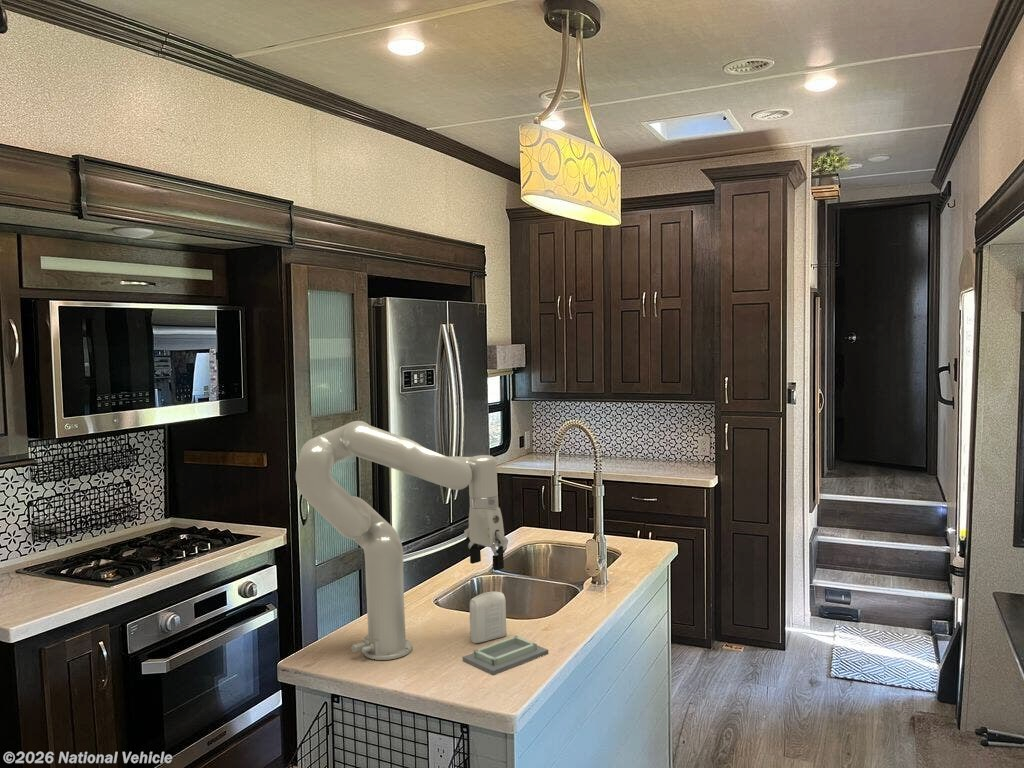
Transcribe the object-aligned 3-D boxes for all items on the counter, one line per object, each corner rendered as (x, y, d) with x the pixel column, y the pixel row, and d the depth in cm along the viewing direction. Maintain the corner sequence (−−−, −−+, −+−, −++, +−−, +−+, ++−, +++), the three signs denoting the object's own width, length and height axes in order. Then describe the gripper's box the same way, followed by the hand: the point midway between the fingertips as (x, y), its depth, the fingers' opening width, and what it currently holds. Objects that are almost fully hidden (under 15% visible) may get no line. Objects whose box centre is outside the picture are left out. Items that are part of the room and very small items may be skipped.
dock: (493, 675, 186) (492, 664, 186) (462, 660, 195) (462, 650, 195) (548, 653, 198) (548, 643, 197) (517, 641, 207) (516, 631, 207)
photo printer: (500, 631, 214) (499, 587, 213) (509, 636, 210) (507, 590, 210) (468, 640, 208) (466, 594, 208) (476, 645, 205) (474, 598, 204)
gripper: (516, 504, 203) (518, 569, 204) (475, 496, 217) (477, 557, 217) (493, 509, 198) (496, 575, 199) (453, 500, 212) (456, 562, 213)
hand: (486, 565), depth 208 cm, fingers open, 9 cm apart
